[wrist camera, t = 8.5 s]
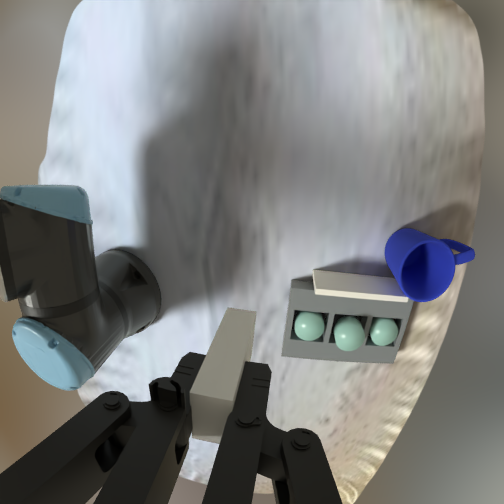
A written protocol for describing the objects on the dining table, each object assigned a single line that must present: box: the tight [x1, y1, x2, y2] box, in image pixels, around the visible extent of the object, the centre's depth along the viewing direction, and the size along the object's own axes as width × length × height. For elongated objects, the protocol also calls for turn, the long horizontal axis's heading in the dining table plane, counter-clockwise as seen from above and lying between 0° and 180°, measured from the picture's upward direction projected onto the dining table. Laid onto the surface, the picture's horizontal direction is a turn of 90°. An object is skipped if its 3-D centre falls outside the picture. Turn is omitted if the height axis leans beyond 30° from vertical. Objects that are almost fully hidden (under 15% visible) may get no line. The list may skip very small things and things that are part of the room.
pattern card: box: [312, 270, 408, 302], centre depth 41 cm, size 13×1×7 cm, turn 86°
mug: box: [385, 228, 475, 302], centre depth 37 cm, size 8×12×10 cm
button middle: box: [334, 316, 365, 351], centre depth 43 cm, size 4×4×3 cm
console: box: [282, 280, 414, 363], centre depth 45 cm, size 19×12×3 cm, turn 86°
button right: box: [369, 317, 398, 346], centre depth 44 cm, size 4×4×3 cm
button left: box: [295, 310, 324, 341], centre depth 46 cm, size 4×4×3 cm
